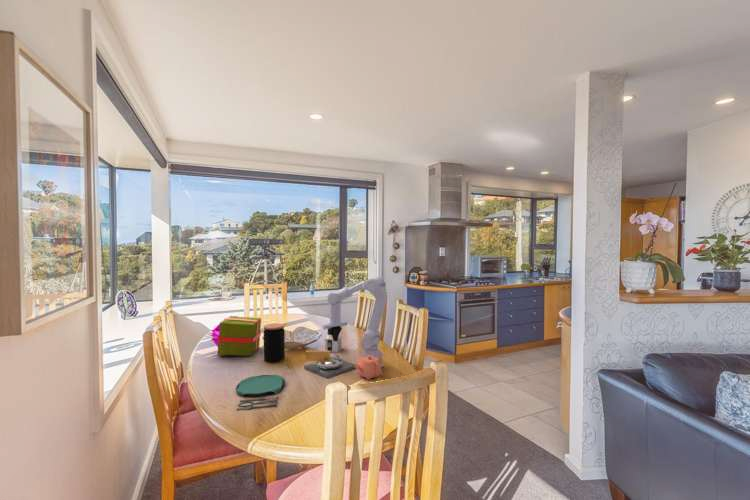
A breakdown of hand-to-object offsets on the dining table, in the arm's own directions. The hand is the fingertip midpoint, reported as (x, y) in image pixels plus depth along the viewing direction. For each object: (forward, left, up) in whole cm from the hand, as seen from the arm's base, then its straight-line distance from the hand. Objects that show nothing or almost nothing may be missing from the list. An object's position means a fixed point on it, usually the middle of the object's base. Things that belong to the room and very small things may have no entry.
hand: (335, 340), depth 182 cm
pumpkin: (-29, +5, -10) cm, 31 cm away
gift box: (+51, +31, -10) cm, 60 cm away
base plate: (-8, +10, -10) cm, 16 cm away
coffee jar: (+24, +22, -10) cm, 34 cm away
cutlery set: (-8, +47, -11) cm, 49 cm away
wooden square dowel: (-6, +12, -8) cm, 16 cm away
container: (+14, -10, -10) cm, 20 cm away
